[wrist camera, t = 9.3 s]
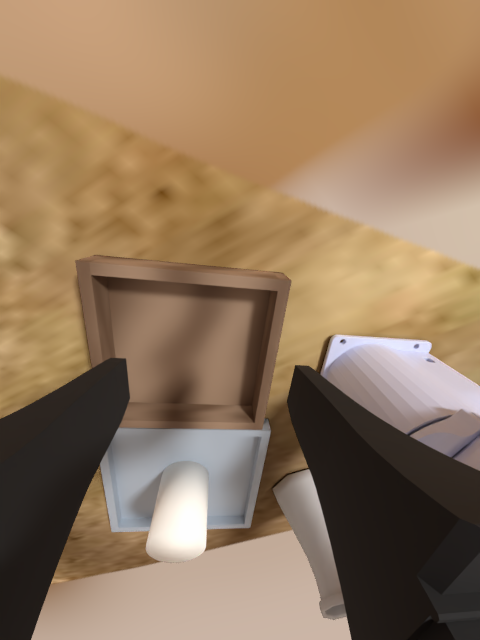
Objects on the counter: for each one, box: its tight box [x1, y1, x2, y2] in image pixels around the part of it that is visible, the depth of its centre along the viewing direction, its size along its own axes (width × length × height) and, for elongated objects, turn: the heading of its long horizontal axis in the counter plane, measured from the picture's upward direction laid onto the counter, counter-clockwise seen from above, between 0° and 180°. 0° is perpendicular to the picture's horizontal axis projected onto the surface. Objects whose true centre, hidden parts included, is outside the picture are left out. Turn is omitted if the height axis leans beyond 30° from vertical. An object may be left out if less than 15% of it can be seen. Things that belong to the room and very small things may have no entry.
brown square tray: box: [75, 255, 291, 430], centre depth 19 cm, size 14×14×2 cm
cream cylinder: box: [146, 461, 209, 563], centre depth 23 cm, size 5×5×6 cm
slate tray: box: [100, 419, 271, 532], centre depth 25 cm, size 16×16×2 cm
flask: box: [272, 469, 347, 620], centre depth 24 cm, size 7×7×10 cm
